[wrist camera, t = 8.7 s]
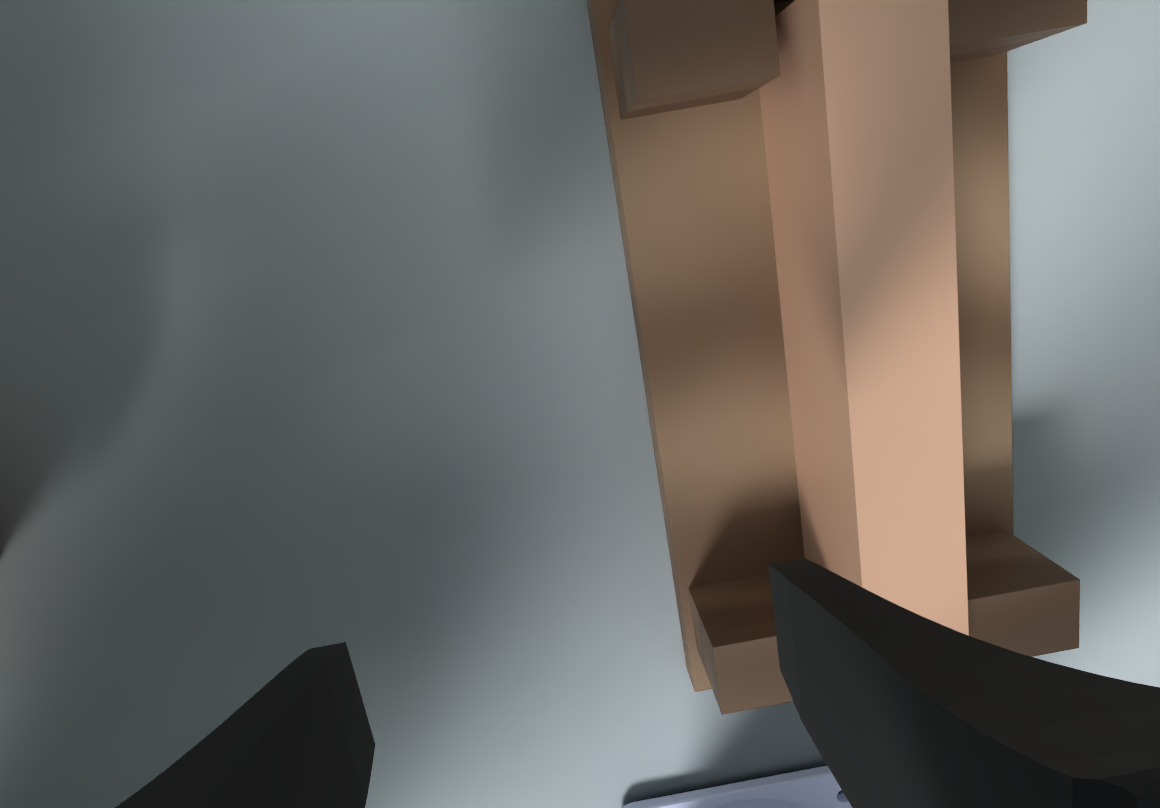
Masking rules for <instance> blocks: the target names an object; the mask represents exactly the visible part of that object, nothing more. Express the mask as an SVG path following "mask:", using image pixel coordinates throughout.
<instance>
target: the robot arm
mask: <svg viewBox="0 0 1160 808" xmlns="http://www.w3.org/2000/svg"><path fill="white" fill-rule="evenodd" d="M768 566H769V575H770V584H771V593H772V602H773V611H774V620H775V629H776V638H777V647H778V656H779V665H780V670H781V673H782V675H783V678H784V680H785V683H786V685H787V687H788V690H789V692H790V695H791V697H792V699H793V702H794V704H795V706H796V709H797V711H798V713H799V715H800V718H801V720H802V722H803V724H804V726H805V728H806V729H807V731H808V733H809V735H810V736H811V738H812V740H813V741H814V743H815V745H816V747H817V748H818V750H819V752H820V754H821V755H822V757H823V759H824V760H825V762H826V764H827V766H822V767H817V768H811V769H806V770H801V771H796V772H790V773H785V774H780V775H774V776H769V777H764V778H759V779H753V780H748V781H743V782H737V783H732V784H727V785H722V786H716V787H711V788H706V789H700V790H695V791H690V792H684V793H679V794H674V795H669V796H663V797H658V798H653V799H647V800H642V801H637V802H632V803H629V804H626V805H625V806H624V807H623V808H1160V688H1159V687H1154V686H1148V685H1143V684H1137V683H1133V682H1128V681H1124V680H1119V679H1114V678H1110V677H1105V676H1101V675H1097V674H1093V673H1089V672H1085V671H1081V670H1077V669H1074V668H1070V667H1066V666H1062V665H1058V664H1054V663H1051V662H1047V661H1043V660H1040V659H1037V658H1033V657H1030V656H1027V655H1023V654H1020V653H1017V652H1014V651H1011V650H1008V649H1005V648H1002V647H1000V646H997V645H994V644H991V643H988V642H985V641H982V640H979V639H976V638H974V637H971V636H968V635H966V634H963V633H961V632H958V631H955V630H953V629H951V628H948V627H946V626H944V625H941V624H939V623H937V622H934V621H932V620H930V619H927V618H925V617H923V616H920V615H918V614H916V613H914V612H911V611H909V610H907V609H905V608H903V607H901V606H899V605H897V604H894V603H892V602H890V601H888V600H886V599H884V598H882V597H880V596H878V595H876V594H874V593H872V592H870V591H868V590H866V589H864V588H862V587H861V586H859V585H857V584H855V583H853V582H851V581H849V580H847V579H845V578H843V577H841V576H839V575H838V574H836V573H834V572H832V571H830V570H828V569H826V568H824V567H822V566H820V565H818V564H816V563H814V562H812V561H810V560H808V559H805V558H801V559H795V560H790V561H784V562H779V563H773V564H768ZM374 749H375V742H374V739H373V735H372V732H371V729H370V725H369V722H368V718H367V715H366V711H365V708H364V704H363V701H362V697H361V694H360V690H359V687H358V683H357V680H356V676H355V673H354V670H353V666H352V663H351V659H350V656H349V652H348V649H347V645H346V642H344V643H339V644H333V645H328V646H323V647H317V648H312V649H309V650H307V651H306V652H305V653H303V654H302V655H301V656H299V657H298V658H297V659H295V660H294V661H293V662H292V663H291V664H289V665H288V666H287V667H286V668H285V669H284V670H282V671H281V672H280V673H279V674H278V675H277V676H275V677H274V678H273V679H272V680H271V681H270V682H269V683H268V684H266V685H265V686H264V687H263V688H262V689H261V690H260V691H259V692H257V693H256V694H255V695H254V696H253V697H252V698H251V699H249V700H248V701H247V702H246V703H245V704H244V705H243V706H241V707H240V708H239V709H238V710H237V711H236V712H235V713H234V714H232V715H231V716H230V717H229V718H228V719H227V720H226V721H224V722H223V723H222V724H221V725H220V726H219V727H218V728H216V729H215V730H214V731H213V732H211V733H210V734H209V735H208V736H207V737H205V738H204V739H203V740H202V741H201V742H199V743H198V744H197V745H196V746H194V747H193V748H192V749H191V750H190V751H188V752H187V753H186V754H185V755H183V756H182V757H181V758H180V759H179V760H177V761H176V762H175V763H174V764H172V765H171V766H170V767H169V768H168V769H166V770H165V771H164V772H163V773H161V774H160V775H159V776H157V777H156V778H155V779H154V780H152V781H151V782H150V783H148V784H147V785H146V786H144V787H143V788H142V789H140V790H139V791H138V792H136V793H135V794H134V795H132V796H131V797H129V798H128V799H127V800H125V801H124V802H122V803H121V804H120V805H118V806H117V807H115V808H365V805H366V799H367V794H368V788H369V782H370V776H371V770H372V763H373V756H374ZM841 790H842V791H843V792H842V793H838V792H839V791H841Z"/></svg>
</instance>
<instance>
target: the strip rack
mask: <svg viewBox="0 0 1160 808" xmlns="http://www.w3.org/2000/svg"><path fill="white" fill-rule="evenodd" d="M794 1H795V0H587V5H588V11H589V18H590V25H591V31H592V38H593V45H594V51H595V58H596V65H597V71H598V78H599V85H600V91H601V98H602V105H603V112H604V118H605V125H606V132H607V138H608V145H609V152H610V158H611V165H612V172H613V178H614V185H615V192H616V198H617V205H618V212H619V218H620V225H621V232H622V238H623V245H624V252H625V258H626V265H627V272H628V278H629V285H630V292H631V298H632V305H633V312H634V318H635V325H636V332H637V339H638V345H639V352H640V359H641V365H642V372H643V379H644V385H645V392H646V399H647V405H648V412H649V419H650V425H651V432H652V439H653V445H654V452H655V459H656V465H657V472H658V479H659V485H660V492H661V499H662V505H663V512H664V519H665V525H666V532H667V539H668V546H669V552H670V559H671V566H672V572H673V579H674V586H675V592H676V599H677V606H678V612H679V619H680V626H681V632H682V639H683V646H684V652H685V659H686V666H687V670H688V673H689V676H690V679H691V682H692V685H693V688H694V691H695V692H697V691H702V690H708V689H713V692H714V695H715V697H716V700H717V702H718V705H719V708H720V710H721V713H722V715H723V714H728V713H733V712H739V711H744V710H749V709H755V708H760V707H765V706H771V705H776V704H781V703H787V702H792V701H793V699H792V697H791V695H790V692H789V690H788V687H787V685H786V683H785V680H784V678H783V675H782V673H781V670H780V665H779V656H778V647H777V638H776V629H775V620H774V611H773V602H772V593H771V584H770V575H769V566H768V564H773V563H779V562H784V561H790V560H795V559H801V558H805V555H804V545H803V535H802V524H801V514H800V504H799V493H798V483H797V473H796V462H795V452H794V442H793V431H792V421H791V411H790V400H789V390H788V380H787V369H786V359H785V349H784V338H783V328H782V318H781V307H780V297H779V287H778V276H777V266H776V256H775V245H774V235H773V225H772V214H771V204H770V194H769V183H768V173H767V163H766V152H765V142H764V132H763V121H762V111H761V101H760V90H759V88H760V87H762V86H764V85H765V84H767V83H769V82H771V81H772V80H774V79H776V78H777V77H779V76H780V66H779V54H778V43H777V32H776V21H775V17H776V16H777V15H778V14H779V13H780V12H782V11H783V10H784V9H785V8H786V7H788V6H789V5H790V4H791V3H792V2H794ZM948 16H949V46H950V77H951V107H952V138H953V168H954V199H955V229H956V260H957V291H958V321H959V352H960V382H961V413H962V443H963V474H964V504H965V535H966V566H967V596H968V627H969V636H971V637H974V638H976V639H979V640H982V641H985V642H988V643H991V644H994V645H997V646H1000V647H1002V648H1005V649H1008V650H1011V651H1014V652H1017V653H1020V654H1023V655H1027V656H1030V657H1032V656H1038V655H1043V654H1048V653H1054V652H1059V651H1064V650H1070V649H1075V648H1079V599H1080V579H1078V578H1077V577H1075V576H1074V575H1072V574H1071V573H1069V572H1067V571H1066V570H1064V569H1063V568H1061V567H1060V566H1058V565H1057V564H1055V563H1054V562H1052V561H1051V560H1049V559H1048V558H1046V557H1045V556H1043V555H1042V554H1040V553H1039V552H1037V551H1036V550H1034V549H1033V548H1031V547H1030V546H1028V545H1027V544H1025V543H1024V542H1022V541H1021V540H1019V539H1018V538H1016V537H1015V536H1013V470H1012V396H1011V323H1010V249H1009V176H1008V102H1007V51H1009V50H1012V49H1015V48H1018V47H1020V46H1023V45H1026V44H1029V43H1032V42H1034V41H1037V40H1040V39H1043V38H1046V37H1049V36H1051V35H1054V34H1057V33H1060V32H1063V31H1065V30H1068V29H1071V28H1074V27H1077V26H1080V25H1082V24H1085V23H1087V0H948Z"/></svg>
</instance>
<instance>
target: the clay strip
mask: <svg viewBox="0 0 1160 808" xmlns="http://www.w3.org/2000/svg"><path fill="white" fill-rule="evenodd" d="M775 21H776V32H777V43H778V54H779V66H780V76H779V77H777V78H776V79H774V80H772V81H771V82H769V83H767V84H765V85H764V86H762V87H760V88H759V90H760V101H761V111H762V121H763V132H764V142H765V152H766V163H767V173H768V183H769V194H770V204H771V214H772V225H773V235H774V245H775V256H776V266H777V276H778V287H779V297H780V307H781V318H782V328H783V338H784V349H785V359H786V369H787V380H788V390H789V400H790V411H791V421H792V431H793V442H794V452H795V462H796V473H797V483H798V493H799V504H800V514H801V524H802V535H803V545H804V555H805V559H808V560H810V561H812V562H814V563H816V564H818V565H820V566H822V567H824V568H826V569H828V570H830V571H832V572H834V573H836V574H838V575H839V576H841V577H843V578H845V579H847V580H849V581H851V582H853V583H855V584H857V585H859V586H861V587H862V588H864V589H866V590H868V591H870V592H872V593H874V594H876V595H878V596H880V597H882V598H884V599H886V600H888V601H890V602H892V603H894V604H897V605H899V606H901V607H903V608H905V609H907V610H909V611H911V612H914V613H916V614H918V615H920V616H923V617H925V618H927V619H930V620H932V621H934V622H937V623H939V624H941V625H944V626H946V627H948V628H951V629H953V630H955V631H958V632H961V633H963V634H966V635H968V636H969V627H968V596H967V566H966V535H965V504H964V474H963V443H962V413H961V382H960V352H959V321H958V291H957V260H956V229H955V199H954V168H953V138H952V107H951V77H950V46H949V16H948V0H795V1H794V2H792V3H791V4H790V5H789V6H788V7H786V8H785V9H784V10H783V11H782V12H780V13H779V14H778V15H777V16H776V17H775Z"/></svg>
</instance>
